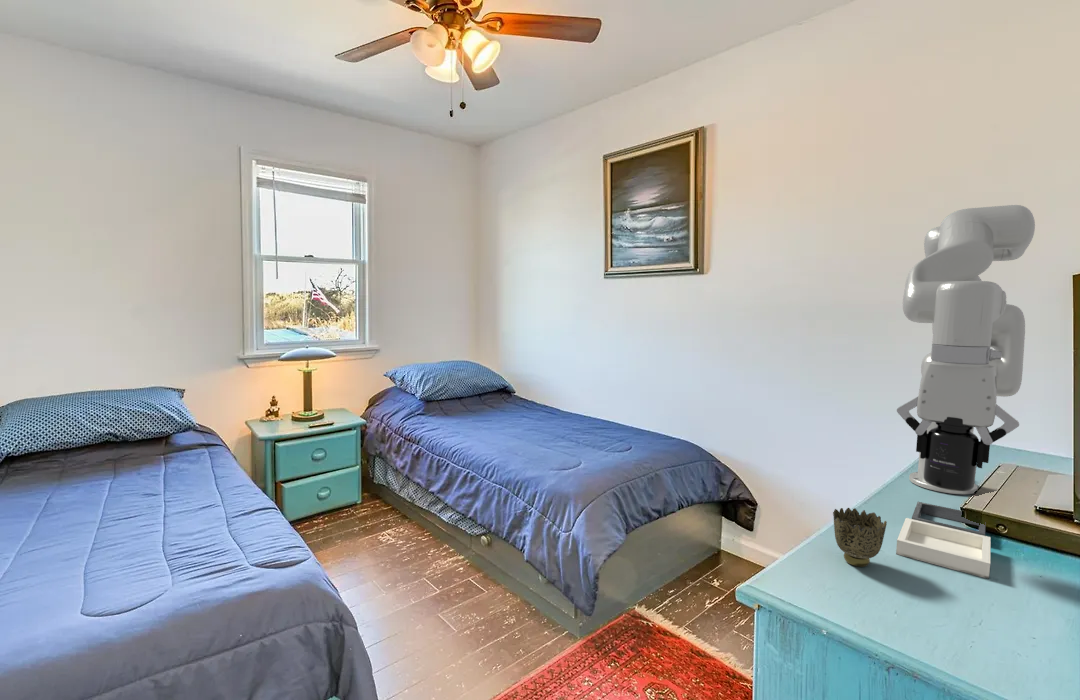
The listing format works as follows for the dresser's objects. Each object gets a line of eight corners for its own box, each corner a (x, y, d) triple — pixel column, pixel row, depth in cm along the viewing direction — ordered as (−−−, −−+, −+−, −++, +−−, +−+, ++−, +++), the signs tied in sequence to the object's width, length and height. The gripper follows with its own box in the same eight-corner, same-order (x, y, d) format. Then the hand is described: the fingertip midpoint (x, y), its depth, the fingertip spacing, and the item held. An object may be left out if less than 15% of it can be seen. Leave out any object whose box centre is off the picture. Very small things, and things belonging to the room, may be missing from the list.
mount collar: (917, 510, 107) (917, 501, 106) (984, 525, 100) (985, 515, 100) (910, 527, 99) (911, 517, 99) (984, 545, 92) (985, 534, 92)
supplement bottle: (931, 489, 86) (937, 417, 85) (917, 476, 92) (922, 409, 91) (982, 494, 84) (989, 421, 82) (964, 480, 90) (969, 412, 89)
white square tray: (904, 530, 98) (905, 517, 97) (989, 551, 90) (990, 537, 89) (896, 553, 88) (897, 539, 88) (988, 579, 81) (990, 563, 80)
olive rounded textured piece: (891, 577, 81) (895, 528, 80) (840, 572, 83) (843, 523, 82) (871, 554, 88) (874, 509, 88) (824, 550, 90) (827, 505, 89)
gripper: (1030, 358, 83) (1019, 467, 85) (899, 351, 94) (892, 447, 96) (1033, 362, 77) (1021, 479, 79) (893, 354, 89) (885, 456, 90)
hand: (950, 460), depth 87 cm, fingers closed on supplement bottle, 6 cm apart
